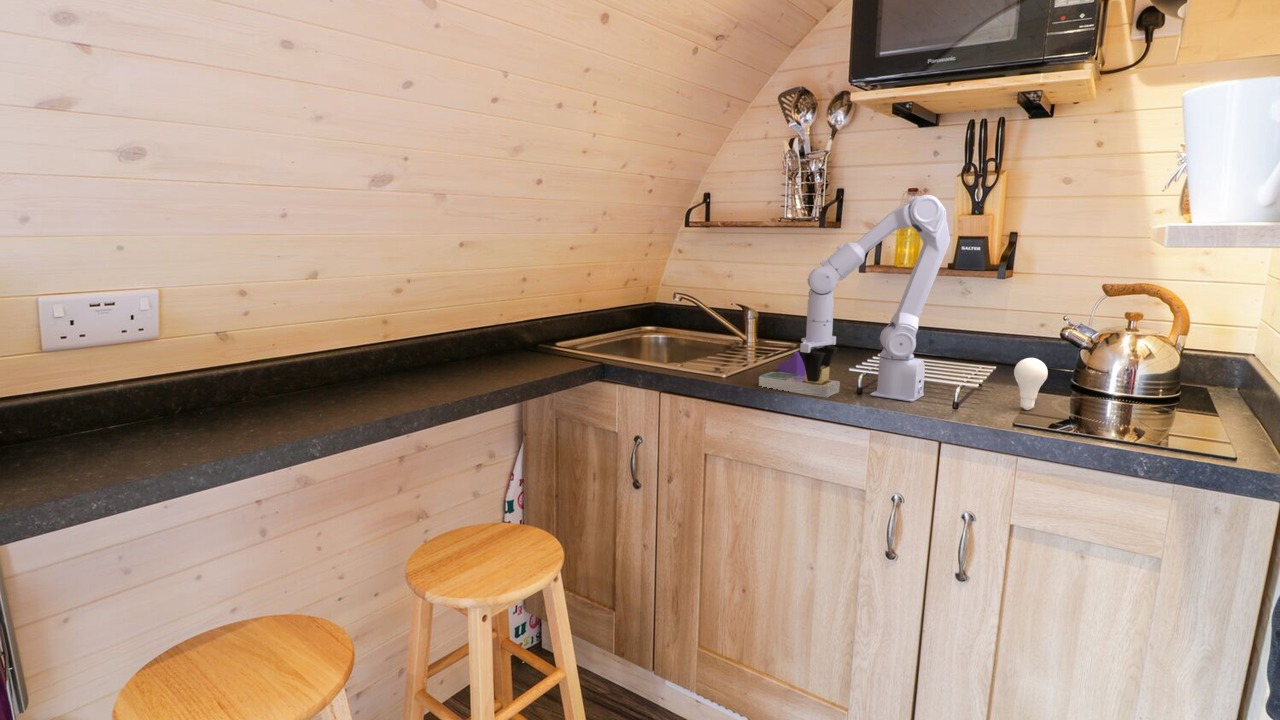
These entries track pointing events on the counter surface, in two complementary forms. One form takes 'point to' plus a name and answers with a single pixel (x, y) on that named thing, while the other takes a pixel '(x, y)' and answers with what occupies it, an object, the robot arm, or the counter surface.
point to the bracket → (793, 365)
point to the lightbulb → (1030, 380)
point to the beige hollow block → (820, 376)
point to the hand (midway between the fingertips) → (816, 379)
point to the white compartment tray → (797, 384)
